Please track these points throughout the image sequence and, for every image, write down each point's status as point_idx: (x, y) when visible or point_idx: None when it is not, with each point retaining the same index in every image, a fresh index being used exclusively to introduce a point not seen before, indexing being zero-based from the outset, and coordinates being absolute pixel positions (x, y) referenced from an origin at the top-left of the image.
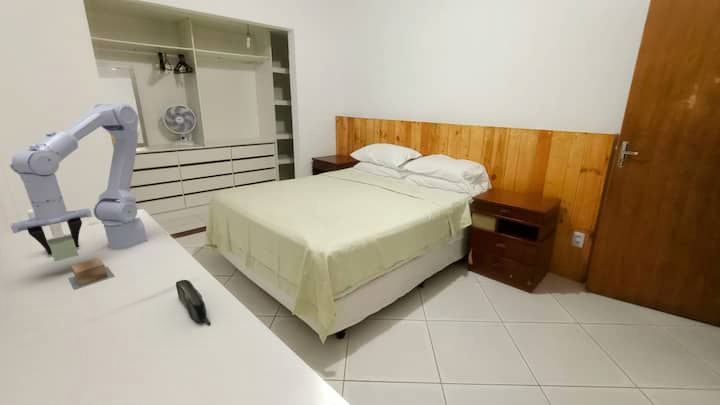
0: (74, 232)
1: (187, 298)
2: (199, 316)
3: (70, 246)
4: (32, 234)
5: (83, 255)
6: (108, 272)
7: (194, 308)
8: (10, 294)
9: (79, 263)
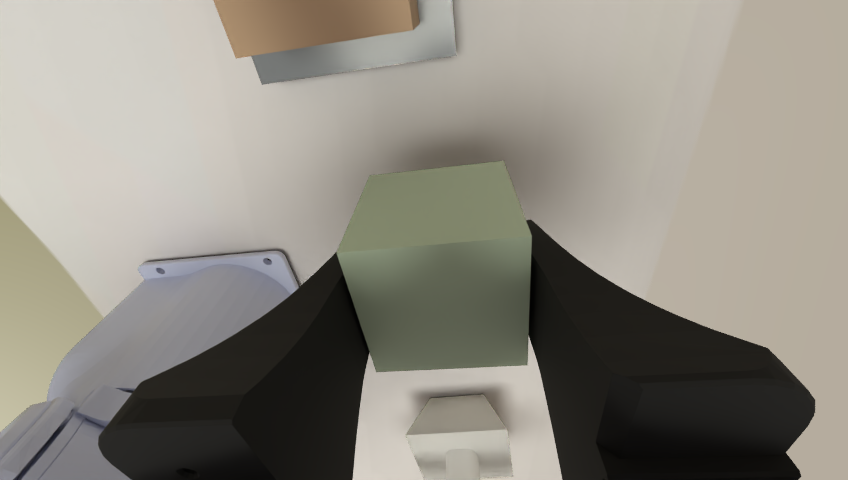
0: (295, 320)
1: None
2: None
3: (385, 216)
4: (775, 363)
5: None
6: None
7: None
8: (685, 130)
9: (360, 30)
